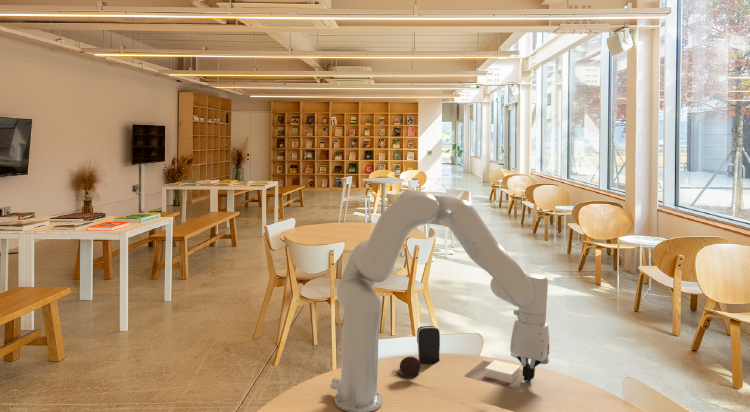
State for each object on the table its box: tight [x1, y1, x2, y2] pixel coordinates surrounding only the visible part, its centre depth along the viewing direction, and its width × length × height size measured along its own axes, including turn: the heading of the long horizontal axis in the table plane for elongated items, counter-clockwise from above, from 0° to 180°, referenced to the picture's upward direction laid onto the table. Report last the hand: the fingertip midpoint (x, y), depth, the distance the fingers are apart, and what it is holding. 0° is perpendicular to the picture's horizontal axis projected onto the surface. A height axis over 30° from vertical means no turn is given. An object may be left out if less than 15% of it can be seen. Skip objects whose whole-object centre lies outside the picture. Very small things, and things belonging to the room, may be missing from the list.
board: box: [464, 360, 524, 390], centre depth 161 cm, size 15×15×2 cm
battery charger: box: [416, 325, 441, 365], centre depth 172 cm, size 7×4×11 cm, turn 98°
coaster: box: [485, 359, 522, 383], centre depth 160 cm, size 8×8×2 cm
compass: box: [391, 355, 422, 379], centre depth 162 cm, size 8×8×7 cm
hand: (528, 379), depth 156 cm, fingers closed
